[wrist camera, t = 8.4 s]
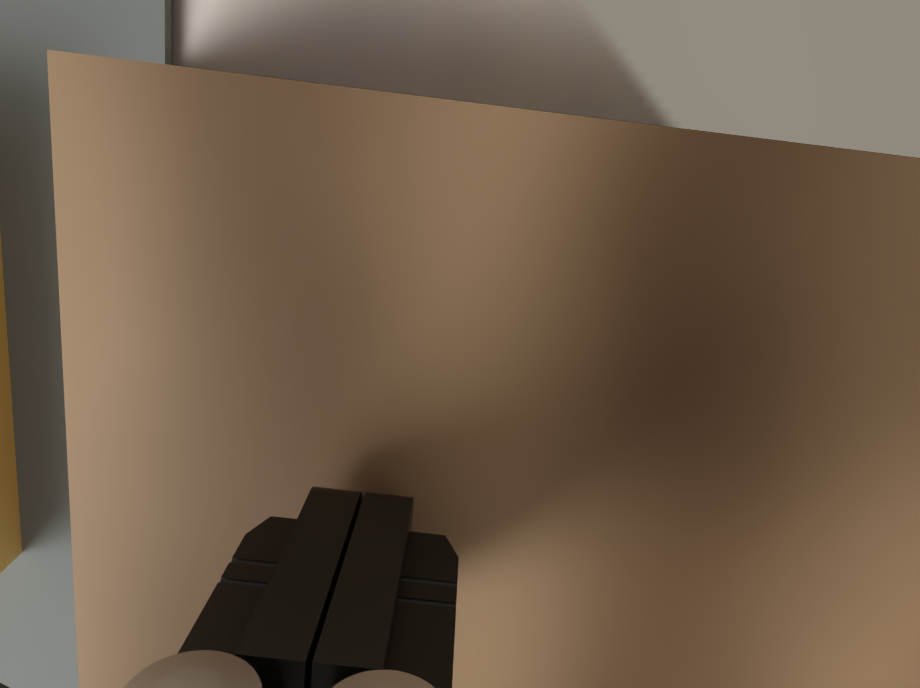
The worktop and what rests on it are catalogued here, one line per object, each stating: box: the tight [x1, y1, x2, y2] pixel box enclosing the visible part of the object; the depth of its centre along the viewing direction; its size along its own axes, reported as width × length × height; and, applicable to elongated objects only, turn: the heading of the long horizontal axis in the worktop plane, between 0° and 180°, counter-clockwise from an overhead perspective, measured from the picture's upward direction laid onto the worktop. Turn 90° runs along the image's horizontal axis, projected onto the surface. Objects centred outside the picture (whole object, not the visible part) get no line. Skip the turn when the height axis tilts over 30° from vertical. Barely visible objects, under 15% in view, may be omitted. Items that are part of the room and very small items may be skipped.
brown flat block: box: [47, 50, 920, 688], centre depth 13 cm, size 19×12×4 cm, turn 83°
